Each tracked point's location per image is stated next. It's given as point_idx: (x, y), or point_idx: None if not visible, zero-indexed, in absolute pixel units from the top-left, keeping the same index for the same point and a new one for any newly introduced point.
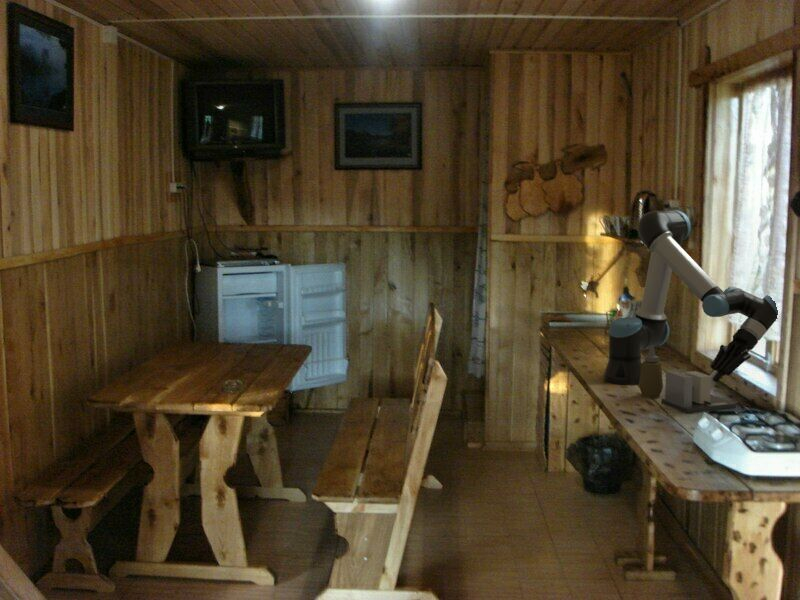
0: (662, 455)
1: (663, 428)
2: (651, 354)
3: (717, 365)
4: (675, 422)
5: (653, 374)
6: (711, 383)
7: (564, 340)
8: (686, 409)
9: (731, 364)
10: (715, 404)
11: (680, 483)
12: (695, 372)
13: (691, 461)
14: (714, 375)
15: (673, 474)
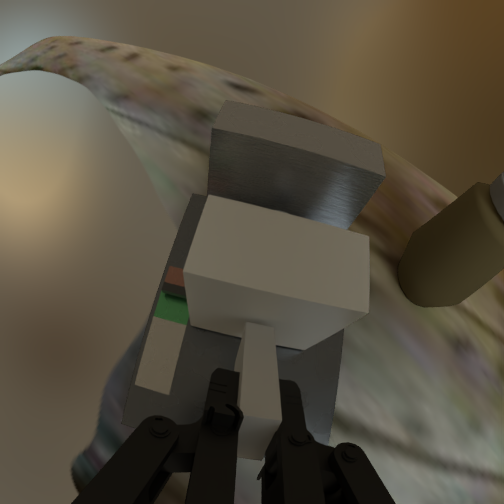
0: (93, 47)
1: (156, 92)
2: None
3: (292, 469)
4: (162, 128)
5: (446, 211)
6: (237, 368)
7: None
8: (199, 197)
9: (97, 479)
10: (163, 329)
11: (52, 38)
12: (336, 279)
13: (55, 58)
14: (239, 389)
15: (63, 39)
